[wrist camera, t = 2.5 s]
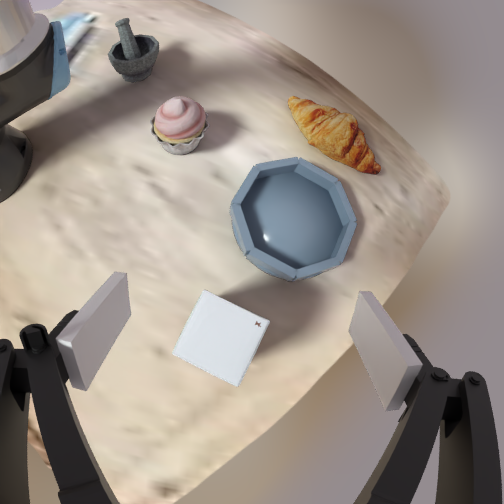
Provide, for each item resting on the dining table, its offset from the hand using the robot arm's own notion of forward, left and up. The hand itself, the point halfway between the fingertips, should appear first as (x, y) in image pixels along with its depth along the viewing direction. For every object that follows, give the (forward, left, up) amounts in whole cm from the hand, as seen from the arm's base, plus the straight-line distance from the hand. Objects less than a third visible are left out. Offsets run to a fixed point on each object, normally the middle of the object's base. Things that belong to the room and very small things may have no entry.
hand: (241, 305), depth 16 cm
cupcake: (-19, +22, -25) cm, 39 cm away
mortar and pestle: (-38, +33, -25) cm, 57 cm away
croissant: (+3, +37, -25) cm, 45 cm away
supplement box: (+1, -2, -25) cm, 25 cm away
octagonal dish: (+3, +18, -25) cm, 31 cm away
